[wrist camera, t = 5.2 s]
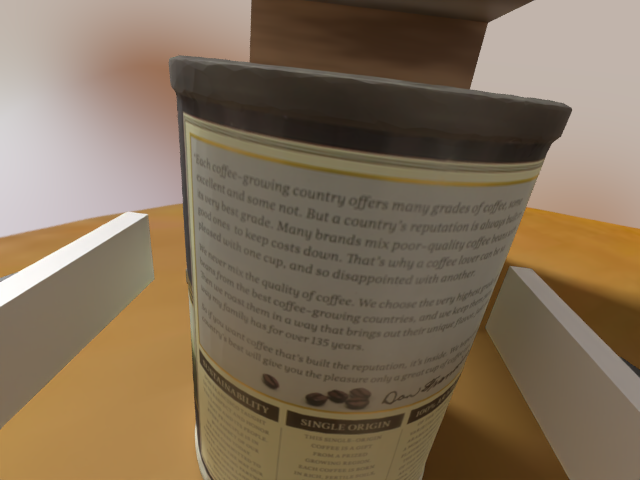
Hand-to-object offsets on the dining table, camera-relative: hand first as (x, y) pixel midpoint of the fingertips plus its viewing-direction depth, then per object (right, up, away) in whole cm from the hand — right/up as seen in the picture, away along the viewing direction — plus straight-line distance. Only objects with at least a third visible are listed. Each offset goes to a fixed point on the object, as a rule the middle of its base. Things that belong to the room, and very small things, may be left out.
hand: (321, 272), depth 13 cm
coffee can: (0, -7, +3) cm, 8 cm away
